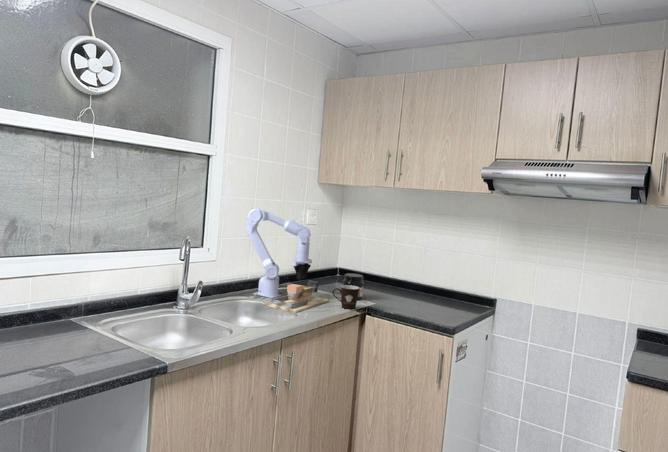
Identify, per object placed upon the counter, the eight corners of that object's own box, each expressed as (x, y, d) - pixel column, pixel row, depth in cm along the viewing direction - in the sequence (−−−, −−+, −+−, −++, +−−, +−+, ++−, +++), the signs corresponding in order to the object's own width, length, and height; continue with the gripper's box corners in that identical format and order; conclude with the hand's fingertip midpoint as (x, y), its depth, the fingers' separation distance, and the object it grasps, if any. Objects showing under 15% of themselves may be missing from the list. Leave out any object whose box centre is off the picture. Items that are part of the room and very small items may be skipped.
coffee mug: (360, 308, 219) (362, 287, 219) (352, 311, 212) (353, 290, 211) (339, 303, 225) (341, 283, 225) (330, 306, 218) (332, 285, 217)
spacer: (287, 291, 215) (287, 285, 215) (293, 290, 219) (293, 284, 219) (295, 293, 212) (296, 287, 212) (302, 292, 217) (302, 285, 217)
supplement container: (365, 300, 236) (367, 277, 236) (346, 300, 233) (348, 277, 232) (357, 295, 246) (359, 273, 245) (338, 295, 242) (340, 273, 241)
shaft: (286, 296, 215) (286, 285, 214) (308, 290, 232) (309, 280, 231) (295, 298, 212) (295, 287, 212) (317, 291, 229) (318, 281, 229)
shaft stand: (264, 305, 211) (265, 289, 210) (300, 295, 236) (301, 280, 235) (295, 312, 203) (296, 295, 202) (328, 301, 228) (330, 286, 227)
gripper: (301, 253, 221) (299, 282, 222) (317, 251, 234) (315, 278, 235) (289, 252, 225) (287, 279, 226) (306, 249, 237) (304, 276, 238)
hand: (301, 278), depth 231 cm, fingers open, 3 cm apart
